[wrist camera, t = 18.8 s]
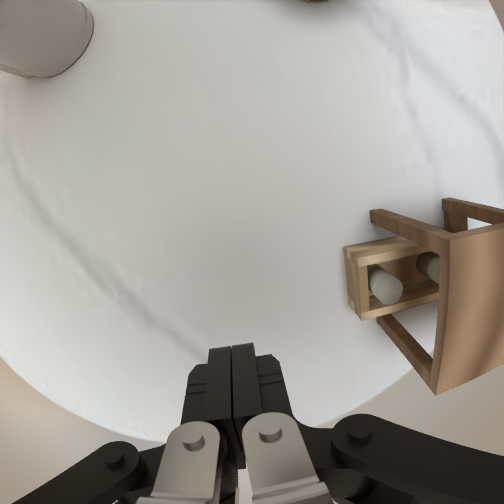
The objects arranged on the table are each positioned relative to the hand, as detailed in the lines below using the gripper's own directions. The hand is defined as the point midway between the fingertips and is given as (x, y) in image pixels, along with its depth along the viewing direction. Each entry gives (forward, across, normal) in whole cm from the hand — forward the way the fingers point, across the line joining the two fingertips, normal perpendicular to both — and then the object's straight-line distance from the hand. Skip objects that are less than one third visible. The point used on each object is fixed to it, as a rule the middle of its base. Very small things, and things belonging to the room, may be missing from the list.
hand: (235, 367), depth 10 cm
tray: (+19, -16, +5) cm, 25 cm away
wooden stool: (+19, -18, +5) cm, 27 cm away
